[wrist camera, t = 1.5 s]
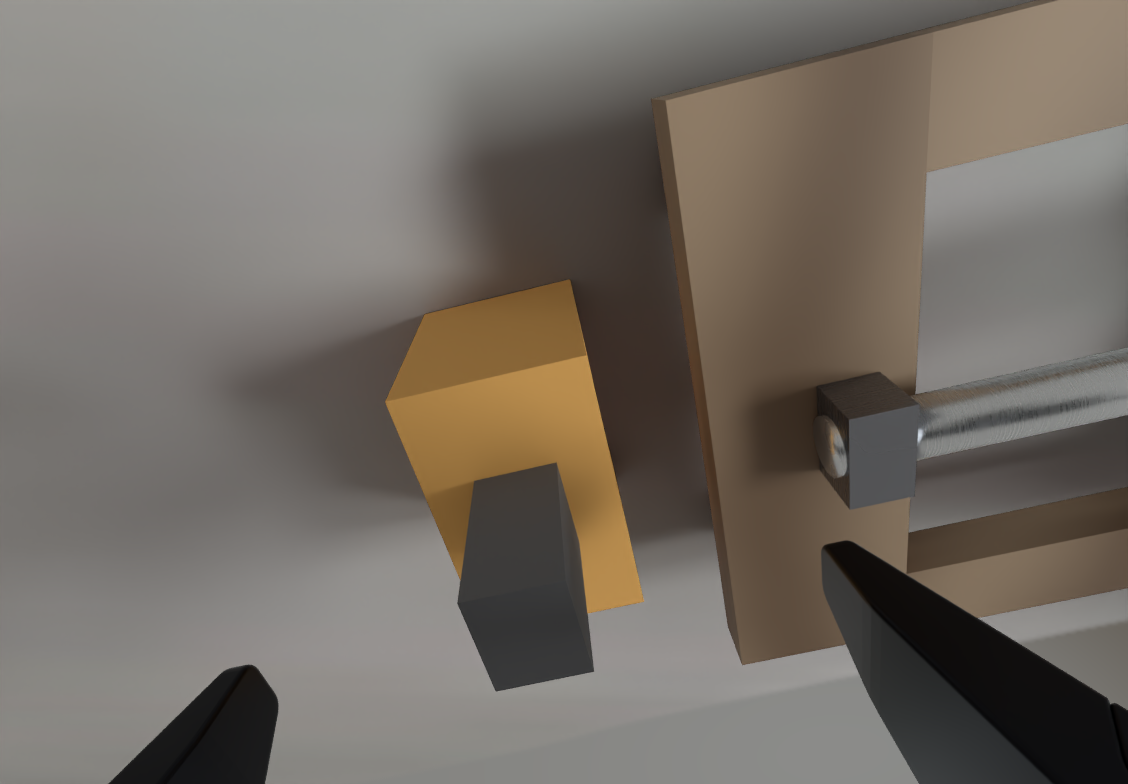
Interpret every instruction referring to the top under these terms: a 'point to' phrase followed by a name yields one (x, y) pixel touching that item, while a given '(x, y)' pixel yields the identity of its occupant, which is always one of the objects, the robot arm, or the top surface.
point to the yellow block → (518, 478)
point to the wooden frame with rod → (863, 297)
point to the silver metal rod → (952, 420)
